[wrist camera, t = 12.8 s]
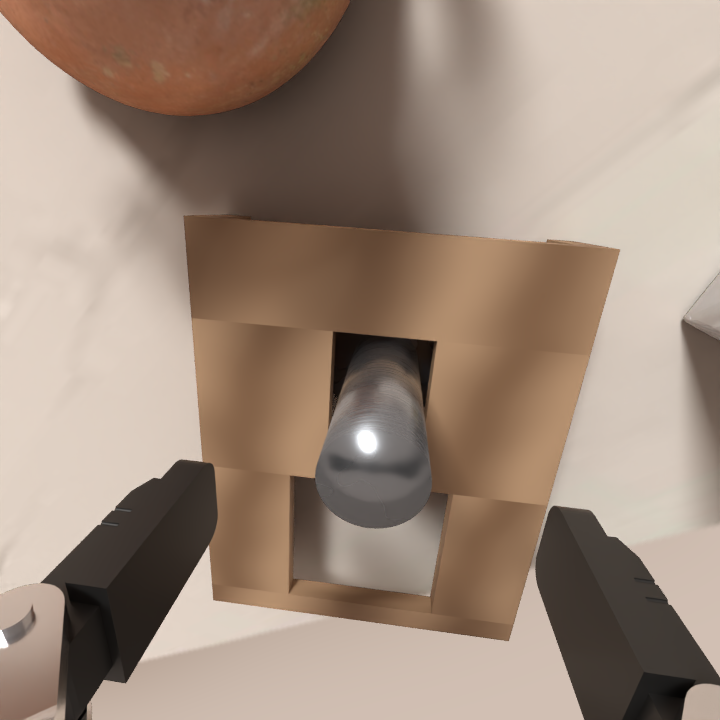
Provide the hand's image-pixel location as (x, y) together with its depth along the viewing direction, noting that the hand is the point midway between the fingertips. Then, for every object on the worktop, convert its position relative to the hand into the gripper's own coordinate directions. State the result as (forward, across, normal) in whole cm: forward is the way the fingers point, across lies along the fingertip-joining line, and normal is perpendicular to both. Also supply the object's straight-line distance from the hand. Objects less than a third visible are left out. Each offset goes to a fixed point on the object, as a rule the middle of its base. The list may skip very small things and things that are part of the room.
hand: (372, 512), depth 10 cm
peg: (+12, 0, 0) cm, 12 cm away
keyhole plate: (+12, 0, +4) cm, 12 cm away
